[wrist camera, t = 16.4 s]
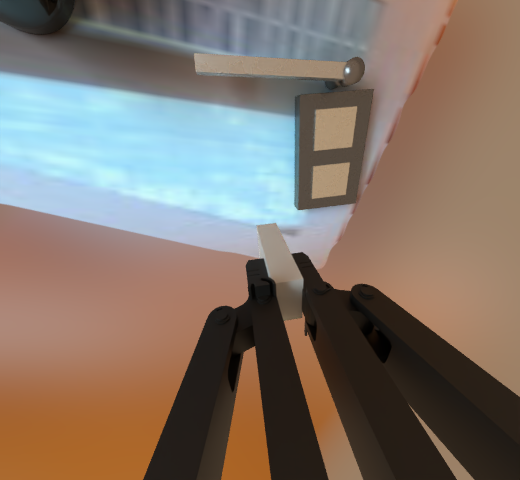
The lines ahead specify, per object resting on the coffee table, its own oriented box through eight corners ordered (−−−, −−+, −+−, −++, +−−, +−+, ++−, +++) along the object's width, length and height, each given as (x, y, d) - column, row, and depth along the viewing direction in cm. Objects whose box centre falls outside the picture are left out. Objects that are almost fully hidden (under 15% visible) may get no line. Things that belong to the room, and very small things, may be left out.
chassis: (295, 76, 37) (304, 68, 33) (367, 70, 38) (386, 62, 34) (294, 205, 50) (301, 213, 45) (349, 199, 51) (361, 206, 46)
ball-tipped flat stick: (357, 62, 33) (367, 57, 31) (353, 86, 34) (361, 84, 32) (195, 52, 30) (192, 46, 28) (198, 80, 31) (196, 76, 29)
